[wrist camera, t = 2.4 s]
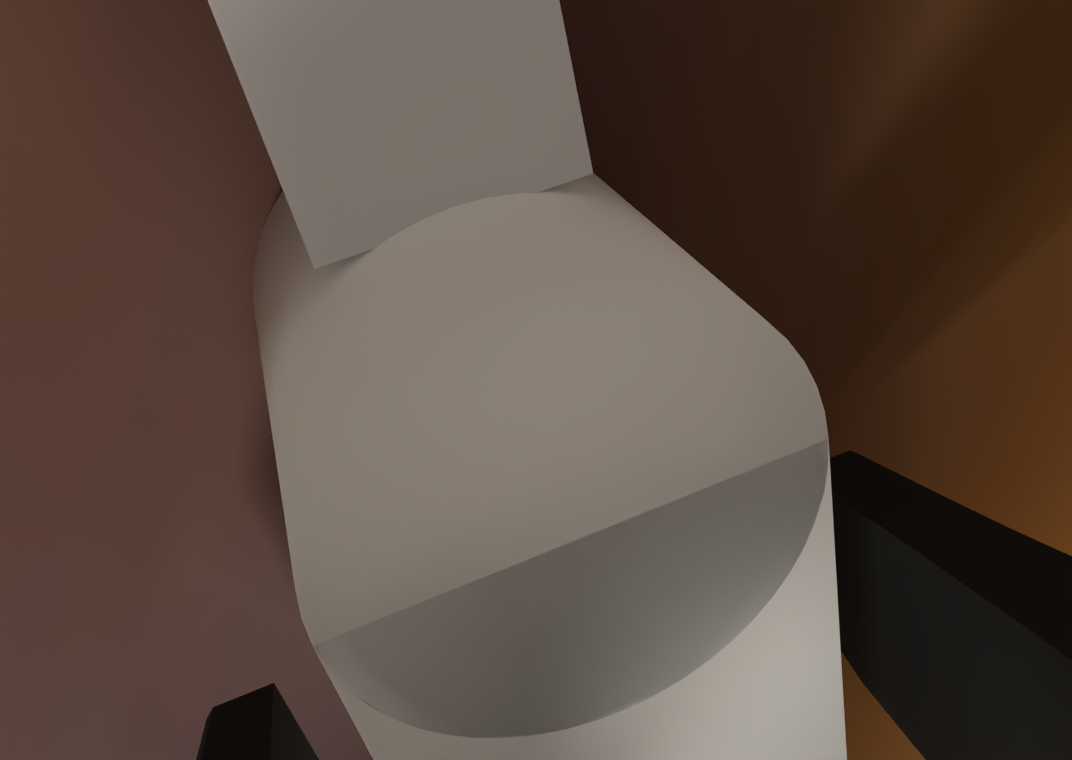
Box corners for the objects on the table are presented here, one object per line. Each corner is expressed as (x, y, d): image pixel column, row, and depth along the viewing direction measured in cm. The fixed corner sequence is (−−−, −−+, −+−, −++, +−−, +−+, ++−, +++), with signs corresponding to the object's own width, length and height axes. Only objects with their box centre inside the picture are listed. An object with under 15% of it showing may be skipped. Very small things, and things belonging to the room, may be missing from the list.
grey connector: (707, 741, 15) (860, 1010, 11) (487, 838, 14) (581, 1150, 11) (516, -244, 7) (786, -296, 4) (53, -117, 7) (-62, -61, 4)
